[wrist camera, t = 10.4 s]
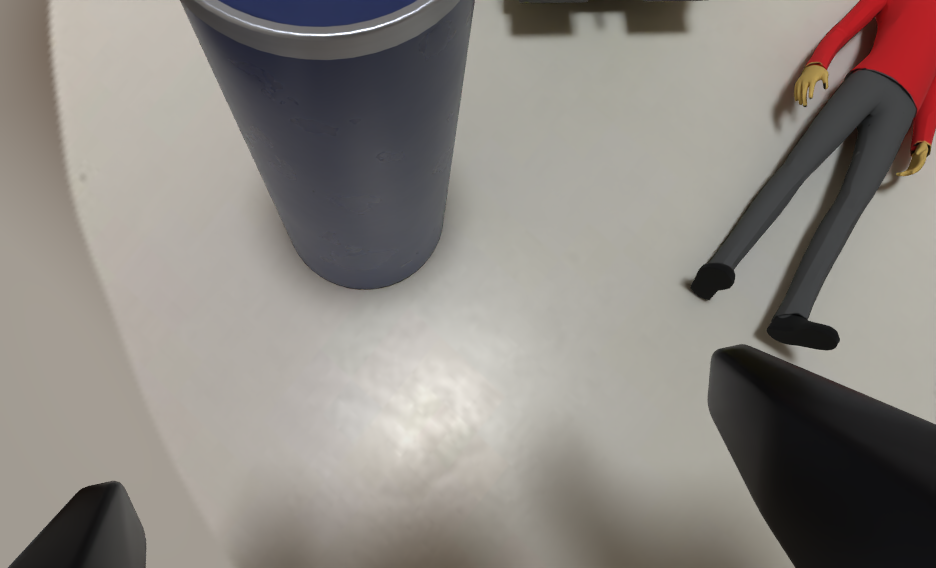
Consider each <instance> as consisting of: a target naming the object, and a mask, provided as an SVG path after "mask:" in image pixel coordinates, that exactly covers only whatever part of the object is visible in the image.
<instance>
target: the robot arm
mask: <svg viewBox="0 0 936 568" xmlns="http://www.w3.org/2000/svg"><path fill="white" fill-rule="evenodd" d="M708 406H709V411H710V414H711V416H712V419H713V421H714V423H715V424H716V426H717V428H718V430H719V432H720V434H721V436H722V438H723V440H724V442H725V444H726V446H727V448H728V450H729V452H730V454H731V456H732V458H733V460H734V462H735V464H736V466H737V468H738V470H739V472H740V474H741V476H742V478H743V480H744V482H745V484H746V486H747V488H748V490H749V492H750V494H751V496H752V498H753V500H754V502H755V503H756V505H757V507H758V509H759V511H760V513H761V515H762V516H763V518H764V519H765V521H766V523H767V524H768V526H769V528H770V529H771V531H772V532H773V534H774V535H775V537H776V538H777V540H778V542H779V543H780V545H781V546H782V548H783V549H784V551H785V552H786V554H787V555H788V557H789V558H790V560H791V562H792V563H793V565H794V566H795V568H936V424H933V423H931V422H928V421H926V420H924V419H921V418H919V417H917V416H914V415H912V414H910V413H907V412H905V411H902V410H900V409H898V408H895V407H893V406H891V405H888V404H886V403H883V402H881V401H879V400H876V399H874V398H872V397H869V396H867V395H865V394H862V393H860V392H857V391H855V390H853V389H850V388H848V387H846V386H843V385H841V384H838V383H836V382H834V381H831V380H829V379H827V378H824V377H822V376H820V375H817V374H815V373H812V372H810V371H808V370H805V369H803V368H801V367H798V366H796V365H793V364H791V363H789V362H786V361H784V360H782V359H779V358H777V357H775V356H772V355H770V354H767V353H765V352H763V351H760V350H758V349H756V348H753V347H751V346H748V345H744V344H740V345H735V346H730V347H726V348H721V349H718V350H716V351H715V352H714V353H713V355H712V358H711V364H710V376H709V388H708ZM8 568H146V538H145V533H144V529H143V526H142V524H141V522H140V520H139V518H138V516H137V513H136V511H135V509H134V507H133V505H132V503H131V500H130V498H129V496H128V494H127V492H126V490H125V488H124V486H123V485H122V484H121V483H120V482H117V481H110V482H105V483H101V484H96V485H91V486H88V487H85V488H82V489H81V490H80V491H78V492H77V493H76V494H75V496H73V498H72V499H71V500H70V501H69V502H68V503H67V504H66V505H65V506H64V507H63V508H62V509H61V511H60V512H59V513H58V514H57V515H56V516H55V517H54V518H53V519H52V520H51V521H50V522H49V524H48V525H47V526H46V527H45V528H44V529H43V530H42V531H41V532H40V533H39V534H38V536H37V537H36V538H35V539H34V540H33V541H32V542H31V543H30V544H29V545H28V546H27V547H26V549H25V550H24V551H23V552H22V553H21V554H20V555H19V556H18V557H17V558H16V559H15V560H14V562H13V563H12V564H11V565H10V566H9V567H8Z"/></svg>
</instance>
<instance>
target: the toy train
mask: <svg viewBox="0 0 936 568" xmlns="http://www.w3.org/2000/svg"><path fill="white" fill-rule="evenodd" d="M587 1H588V0H519V3H562V2H587ZM643 1H701V0H643Z"/></svg>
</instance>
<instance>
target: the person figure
mask: <svg viewBox="0 0 936 568" xmlns="http://www.w3.org/2000/svg"><path fill="white" fill-rule="evenodd" d="M874 17H875V18H876V21H877V34H876V37H875V41H874V45H873V48H872V50H871V52H870V54H869V55H868V56H867V57H866V58H865V59H864V60H862V61H861V62H860V63H859V64H858V65H857V66H856V67H855V68H853V69H852V70H851V71H850V72H849V73H848V74H847V75H846V77H845V81H844V82H843V83H842V85H841V86H840V87H839V88H838V90H837V91H836V92H835V93H834V95H833V96H832V97H831V98H830V100H829V101H828V102H827V103H826V105H825V106H824V108H823V109H822V110H821V111H820V113H819V114H818V115H817V116H816V118H815V119H814V121H813V122H812V123H811V125H810V126H809V128H808V130H807V131H806V132H805V134H804V135H803V136H802V138H801V139H800V140H799V142H798V143H797V145H796V146H795V147H794V149H793V150H792V152H791V153H790V154H789V156H788V158H787V160H786V161H785V163H784V164H783V165H782V166H781V167H780V168H779V170H778V171H777V172H776V173H775V174H774V175H773V177H772V178H771V179H770V180H769V181H768V183H767V184H766V185H765V186H764V187H763V189H762V190H761V191H760V193H759V194H758V195H757V197H756V198H755V199H754V201H753V202H752V203H751V205H750V206H749V208H748V209H747V211H746V212H745V213H744V215H743V216H742V218H741V219H740V221H739V222H738V224H737V225H736V226H735V228H734V229H733V231H732V232H731V233H730V235H729V236H728V238H727V239H726V240H725V242H724V243H723V244H722V246H721V247H720V249H719V250H718V251H717V253H716V254H715V255H714V256H713V258H712V259H711V260H710V262H709V263H707V264H705V265H703V266H702V267H701V268H700V269H699V271H698V273H697V276H696V278H695V280H694V281H693V283H692V284H691V289H692V290H693V292H694V293H695V294H697V295H698V296H700V297H701V298H703V299H707V300H710V299H711V298H712V297H713V295H714V294H715V293H716V292H717V291H718V290H725V289H728V288H730V287H731V286H732V285H733V284H734V280H735V273H734V269H735V267H736V266H737V265H738V263H739V262H740V261H741V260H742V259H743V257H744V256H745V255H746V254H747V253H748V252H749V250H750V249H751V248H752V247H753V246H754V244H755V243H756V242H757V241H758V239H759V238H760V237H761V236H762V235H763V234H764V232H765V231H766V230H767V229H768V228H769V227H770V225H771V224H772V223H773V222H774V221H775V220H776V218H777V217H778V216H779V214H780V213H781V212H782V211H783V209H784V208H785V207H786V206H787V204H788V203H789V201H790V200H791V199H792V197H793V196H794V194H795V193H796V191H797V190H798V189H799V187H800V186H801V185H802V183H803V182H804V181H805V180H806V179H807V178H808V177H809V176H810V174H811V173H812V172H814V171H815V170H816V169H817V168H818V167H819V166H820V165H821V164H822V162H823V161H824V160H825V159H826V158H827V157H828V156H829V155H830V154H831V153H832V152H833V151H834V150H835V149H836V148H837V147H838V146H839V145H840V144H841V143H842V142H843V141H844V140H845V139H846V138H847V137H848V136H849V135H850V134H851V132H852V131H853V130H854V129H855V128H856V127H857V130H858V136H857V140H856V144H855V148H854V152H853V156H852V160H851V163H850V166H849V168H848V171H847V173H846V176H845V179H844V182H843V184H842V187H841V190H840V192H839V194H838V196H837V198H836V200H835V202H834V204H833V205H832V207H831V208H830V209H829V211H828V212H827V214H826V215H825V217H824V218H823V220H822V221H821V223H820V224H819V226H818V228H817V230H816V232H815V234H814V236H813V238H812V240H811V242H810V244H809V246H808V248H807V250H806V252H805V254H804V256H803V258H802V260H801V262H800V264H799V267H798V269H797V271H796V273H795V275H794V278H793V280H792V282H791V285H790V287H789V289H788V291H787V294H786V296H785V298H784V300H783V302H782V303H781V305H780V307H779V309H778V310H777V312H776V314H775V315H774V317H773V319H772V321H771V323H770V325H769V327H768V328H767V332H768V334H769V335H770V336H771V337H772V338H773V339H775V340H777V341H779V342H781V343H784V344H789V345H797V346H803V347H808V348H813V349H819V350H832V349H834V348H836V346H837V344H838V343H839V341H840V338H839V335H838V333H837V331H836V330H835V329H833V328H832V327H830V326H827V325H823V324H819V323H814V322H811V321H808V318H809V315H810V312H811V310H812V307H813V304H814V302H815V300H816V298H817V296H818V294H819V292H820V289H821V287H822V285H823V283H824V281H825V279H826V277H827V275H828V273H829V272H830V270H831V268H832V266H833V264H834V262H835V261H836V259H837V257H838V255H839V254H840V252H841V250H842V248H843V247H844V245H845V243H846V241H847V239H848V237H849V235H850V234H851V232H852V230H853V228H854V226H855V225H856V223H857V221H858V219H859V218H860V216H861V214H862V213H863V211H864V209H865V208H866V206H867V205H868V203H869V202H870V200H871V199H872V198H873V196H874V194H875V193H876V191H877V190H878V188H879V186H880V185H881V183H882V181H883V179H884V178H885V176H886V174H887V172H888V170H889V168H890V166H891V164H892V162H893V160H894V158H895V156H896V154H897V152H898V150H899V148H900V146H901V143H902V141H903V139H904V137H905V135H906V133H907V131H908V130H909V128H910V125H911V123H912V121H913V135H912V141H911V149H910V153H911V157H912V160H911V162H910V165H909V167H908V169H907V170H906V171H904V172H899V173H896V175H897V176H908V175H911V174H914V173H916V172H918V171H919V170H920V169H921V168H922V166H923V165H924V163H925V160H926V157H927V156H928V155H930V151H931V144H932V140H933V136H934V133H935V129H936V0H860V1H859V2H858V3H857V4H856V5H855V6H854V8H853V9H852V10H851V11H850V12H849V13H848V14H847V15H846V16H845V17H844V18H843V19H842V20H841V21H840V22H839V23H838V24H836V25H835V26H834V27H833V28H832V29H831V30H830V31H829V32H828V33H827V34H826V36H825V37H824V38H823V39H822V40H821V42H820V43H819V45H818V46H817V48H816V49H815V51H814V53H813V55H812V56H811V58H810V60H809V61H808V63H807V64H806V66H805V67H804V69H803V72H802V75H801V76H800V78H799V79H798V80H797V82H796V84H795V88H794V97H795V101H799V104H800V105H802V103H803V106H804V107H806V106H807V89H808V87H809V86H810V87H809V98H810V99H811V98H812V97H813V91H814V86H815V84H816V82H817V81H819V80H822V81H823V87H824V89H827V88H828V71H827V68H828V66H829V65H830V63H831V61H832V59H833V57H834V56H835V54H836V53H837V52H838V51H839V50H840V49H841V48H842V47H843V46H844V45H845V44H846V43H847V42H848V41H849V40H850V39H851V38H852V37H853V36H854V35H856V34H857V33H858V32H859V31H860V30H861V29H863V28H864V27H865V26H866V25H867V24H868V23H869V22H870V21H871V20H872V19H873V18H874Z"/></svg>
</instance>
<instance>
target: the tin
mask: <svg viewBox="0 0 936 568" xmlns="http://www.w3.org/2000/svg"><path fill="white" fill-rule="evenodd" d="M180 1H181V3H182V6H183V8H184V10H185V12H186V14H187V16H188V19H189V21H190V23H191V25H192V27H193V29H194V32H195V34H196V36H197V38H198V40H199V42H200V45H201V47H202V49H203V51H204V53H205V55H206V57H207V60H208V62H209V64H210V66H211V68H212V70H213V73H214V75H215V77H216V79H217V81H218V83H219V86H220V88H221V90H222V92H223V94H224V96H225V99H226V101H227V103H228V105H229V107H230V109H231V111H232V114H233V116H234V118H235V120H236V122H237V124H238V127H239V129H240V131H241V133H242V135H243V137H244V140H245V142H246V144H247V146H248V148H249V150H250V153H251V155H252V157H253V159H254V161H255V163H256V166H257V168H258V170H259V172H260V174H261V176H262V178H263V181H264V183H265V185H266V187H267V189H268V191H269V194H270V196H271V198H272V200H273V202H274V204H275V207H276V209H277V211H278V213H279V215H280V217H281V220H282V222H283V224H284V226H285V228H286V230H287V232H288V235H289V237H290V239H291V241H292V243H293V245H294V247H295V249H296V251H297V253H298V254H299V256H300V257H301V258H302V260H303V261H304V262H305V263H306V264H307V265H308V266H309V267H310V268H311V269H312V270H313V271H314V272H316V273H317V274H318V275H320V276H321V277H323V278H325V279H326V280H328V281H330V282H333V283H335V284H338V285H341V286H345V287H349V288H356V289H374V288H381V287H385V286H389V285H392V284H394V283H397V282H399V281H401V280H403V279H405V278H407V277H409V276H410V275H412V274H413V273H414V272H416V271H417V270H418V269H419V268H420V267H421V266H422V265H423V264H424V263H425V262H426V261H427V260H428V258H429V257H430V256H431V254H432V253H433V251H434V249H435V248H436V245H437V243H438V241H439V238H440V235H441V231H442V226H443V219H444V212H445V205H446V198H447V191H448V184H449V177H450V170H451V163H452V156H453V149H454V142H455V135H456V128H457V121H458V114H459V107H460V100H461V93H462V86H463V79H464V72H465V66H466V59H467V52H468V45H469V38H470V31H471V24H472V17H473V10H474V3H475V0H180Z"/></svg>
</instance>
